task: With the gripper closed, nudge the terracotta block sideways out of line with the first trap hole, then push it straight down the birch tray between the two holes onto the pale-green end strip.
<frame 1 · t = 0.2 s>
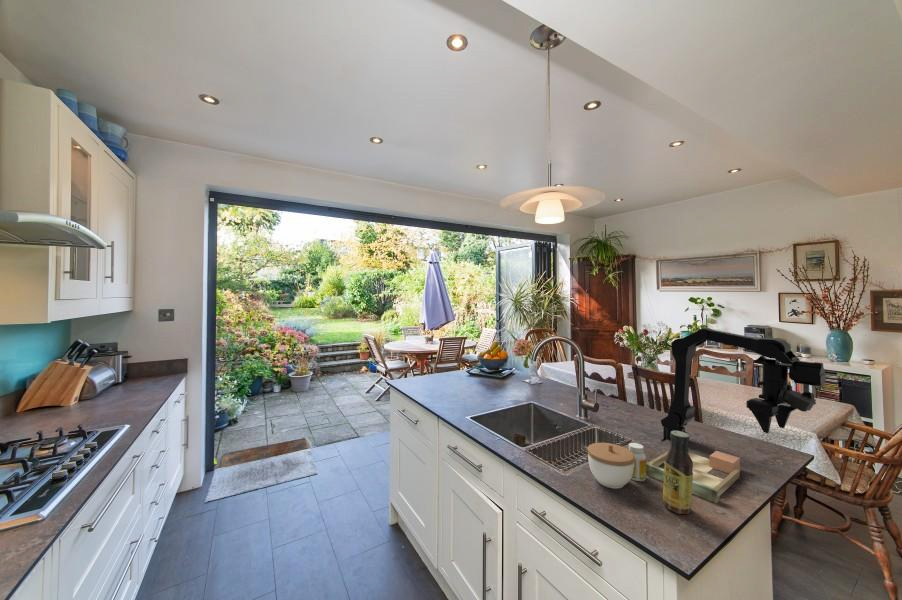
hand: (774, 430, 104), 14 cm above the worktop, fingers open, 9 cm apart
supplement bottle: (635, 477, 103), on the worktop
sauce bottle: (677, 509, 88), on the worktop
lidded bowl: (610, 482, 101), on the worktop
block: (724, 467, 106), point 1 cm above the worktop, touching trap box
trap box: (696, 474, 105), on the worktop
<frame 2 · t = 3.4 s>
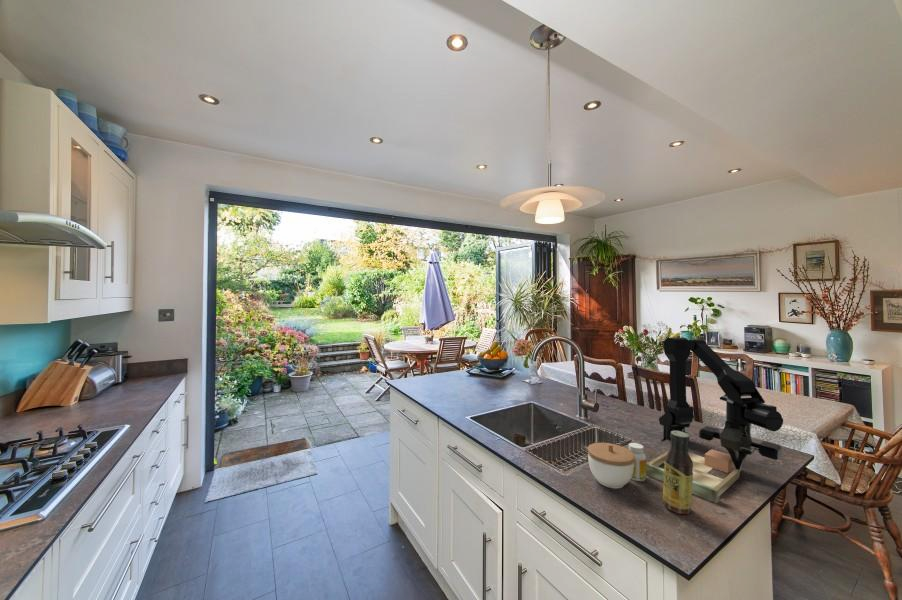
hand: (737, 469, 104), 2 cm above the worktop, fingers closed
block: (719, 466, 108), point 1 cm above the worktop, touching gripper
everything else where it was.
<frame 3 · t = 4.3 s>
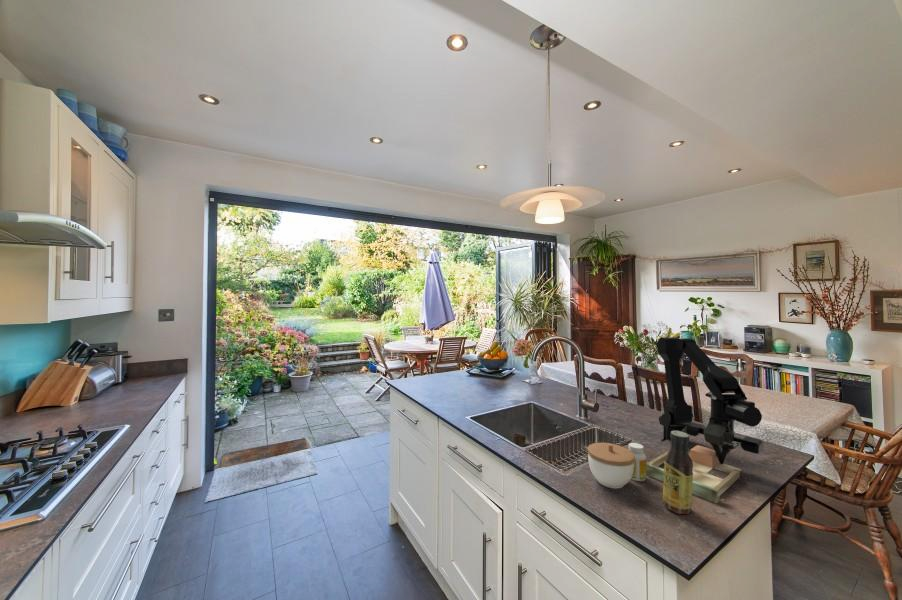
hand: (721, 463, 107), 2 cm above the worktop, fingers closed
block: (704, 461, 111), point 1 cm above the worktop, touching gripper, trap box
everything else where it was.
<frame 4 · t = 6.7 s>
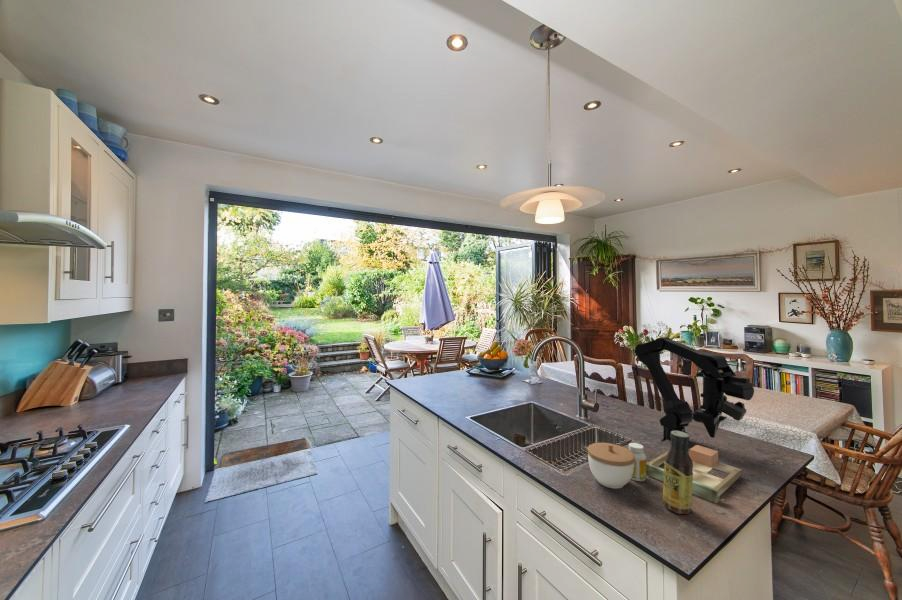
hand: (712, 437, 116), 7 cm above the worktop, fingers closed
block: (703, 460, 111), point 1 cm above the worktop, touching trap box
everything else where it was.
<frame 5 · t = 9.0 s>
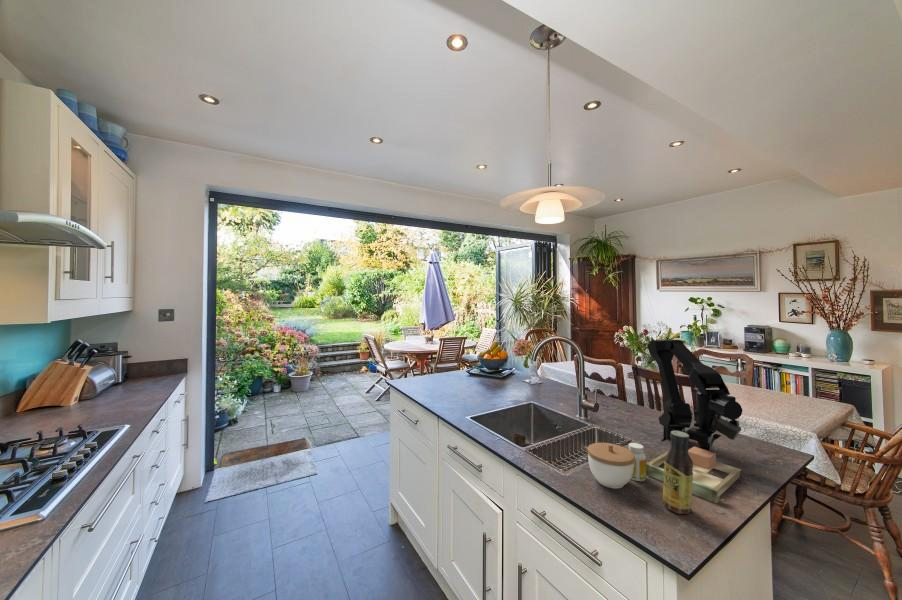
hand: (706, 455, 112), 2 cm above the worktop, fingers closed
block: (701, 462, 110), point 1 cm above the worktop, touching gripper, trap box
everything else where it was.
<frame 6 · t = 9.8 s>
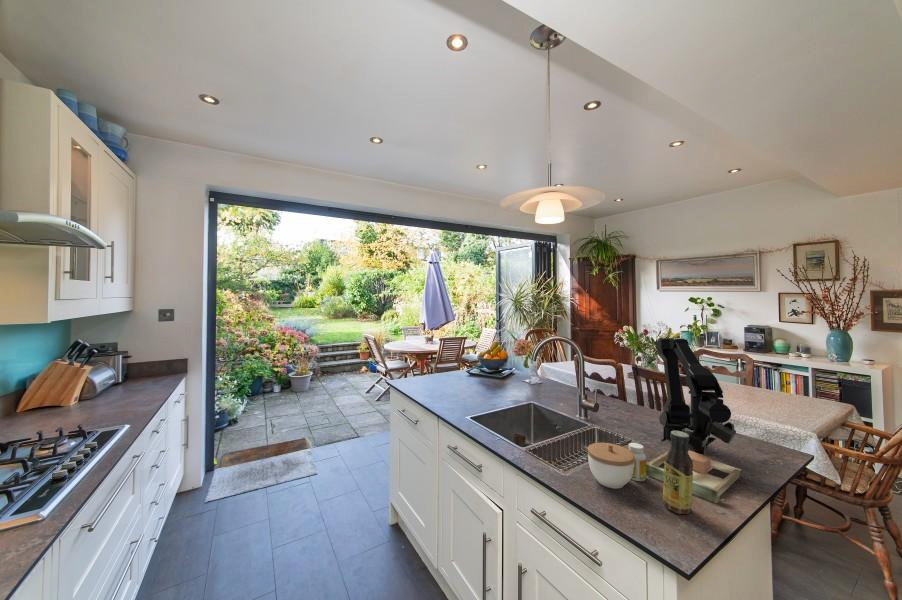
hand: (701, 459, 109), 2 cm above the worktop, fingers closed
block: (696, 467, 107), point 1 cm above the worktop, touching gripper
everything else where it was.
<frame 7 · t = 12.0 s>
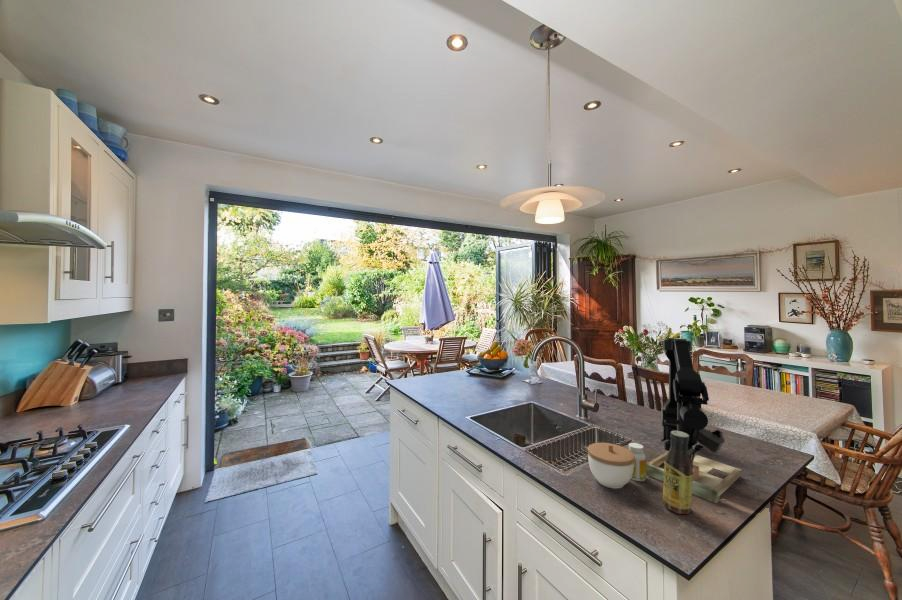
hand: (688, 468, 104), 2 cm above the worktop, fingers closed
block: (683, 477, 101), point 1 cm above the worktop, touching gripper, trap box
everything else where it was.
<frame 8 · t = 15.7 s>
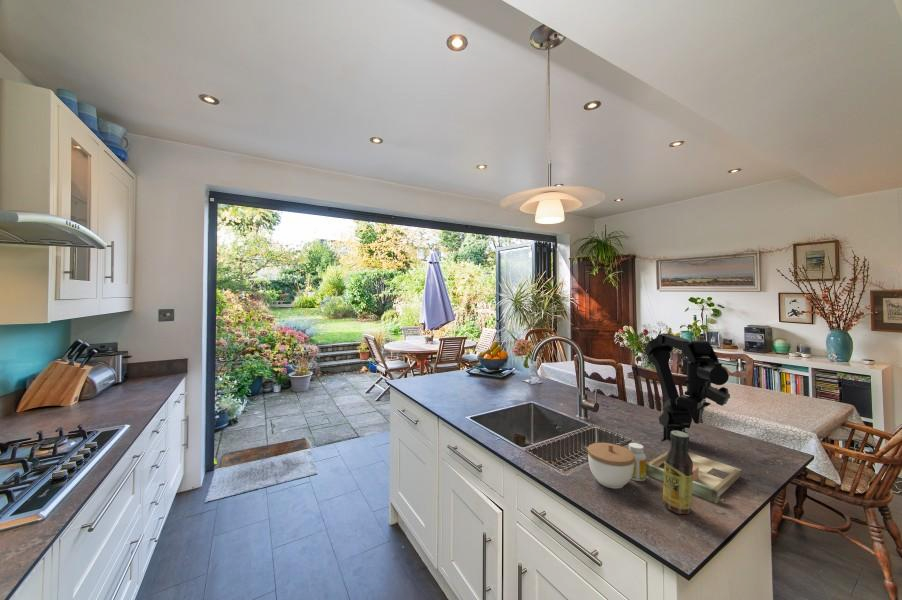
hand: (696, 423, 115), 12 cm above the worktop, fingers closed
block: (682, 477, 101), point 1 cm above the worktop, touching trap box
everything else where it was.
at the end: block inside the target area on the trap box (0.9 cm from its centre), point 1.2 cm above the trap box's base; block tilted 0° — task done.
